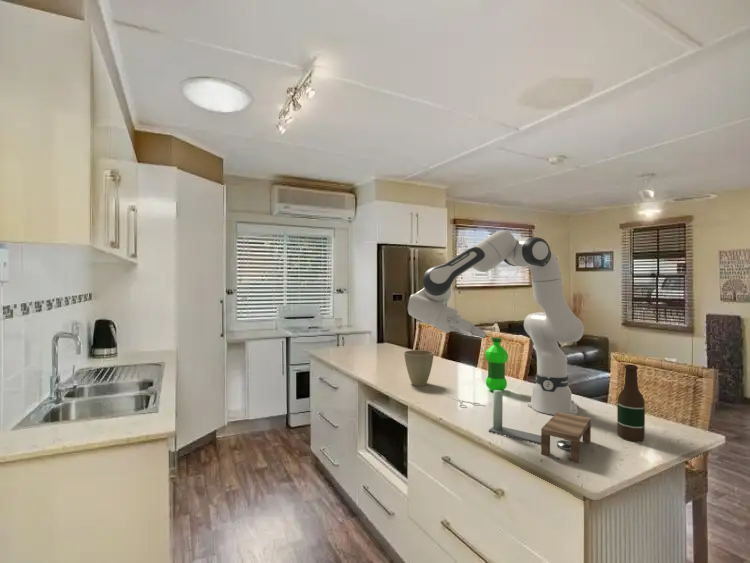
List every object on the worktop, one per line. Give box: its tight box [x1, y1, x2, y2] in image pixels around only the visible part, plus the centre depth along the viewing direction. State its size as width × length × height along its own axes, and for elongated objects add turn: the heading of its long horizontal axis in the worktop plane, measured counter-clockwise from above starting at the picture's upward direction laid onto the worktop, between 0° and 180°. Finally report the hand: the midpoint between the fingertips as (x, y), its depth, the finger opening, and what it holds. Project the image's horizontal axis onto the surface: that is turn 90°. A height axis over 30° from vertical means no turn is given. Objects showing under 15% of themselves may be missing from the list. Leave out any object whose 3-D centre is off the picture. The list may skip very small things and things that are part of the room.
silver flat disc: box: [556, 439, 571, 452], centre depth 123 cm, size 6×6×1 cm
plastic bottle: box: [485, 336, 509, 393], centre depth 187 cm, size 10×10×25 cm
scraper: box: [488, 390, 541, 446], centre depth 132 cm, size 17×6×14 cm, turn 52°
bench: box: [540, 412, 592, 464], centre depth 123 cm, size 20×10×8 cm, turn 142°
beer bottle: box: [616, 364, 646, 443], centre depth 131 cm, size 8×8×24 cm
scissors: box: [444, 394, 486, 409], centre depth 170 cm, size 11×1×20 cm
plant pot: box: [403, 349, 435, 387], centre depth 198 cm, size 15×15×16 cm
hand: (485, 335), depth 138 cm, fingers open, 8 cm apart
